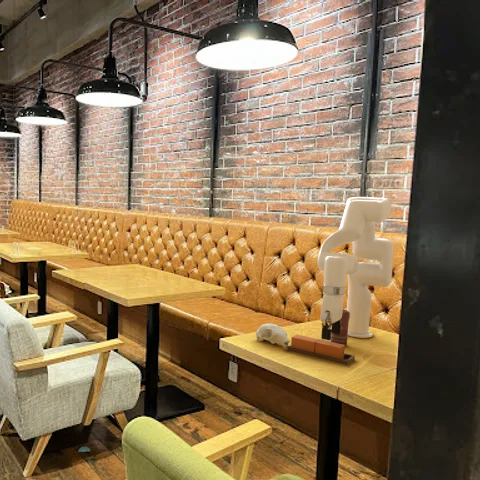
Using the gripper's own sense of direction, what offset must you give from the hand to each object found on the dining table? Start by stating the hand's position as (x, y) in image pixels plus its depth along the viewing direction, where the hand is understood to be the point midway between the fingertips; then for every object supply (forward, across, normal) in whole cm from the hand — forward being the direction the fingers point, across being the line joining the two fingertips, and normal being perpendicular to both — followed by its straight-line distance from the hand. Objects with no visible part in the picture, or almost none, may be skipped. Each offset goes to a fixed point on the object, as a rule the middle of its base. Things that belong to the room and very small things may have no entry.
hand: (330, 336), depth 176 cm
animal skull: (+8, +1, -22) cm, 24 cm away
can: (+9, -19, -3) cm, 21 cm away
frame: (+8, +1, -3) cm, 9 cm away
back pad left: (+8, +1, -9) cm, 12 cm away
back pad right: (+8, 0, 0) cm, 8 cm away
